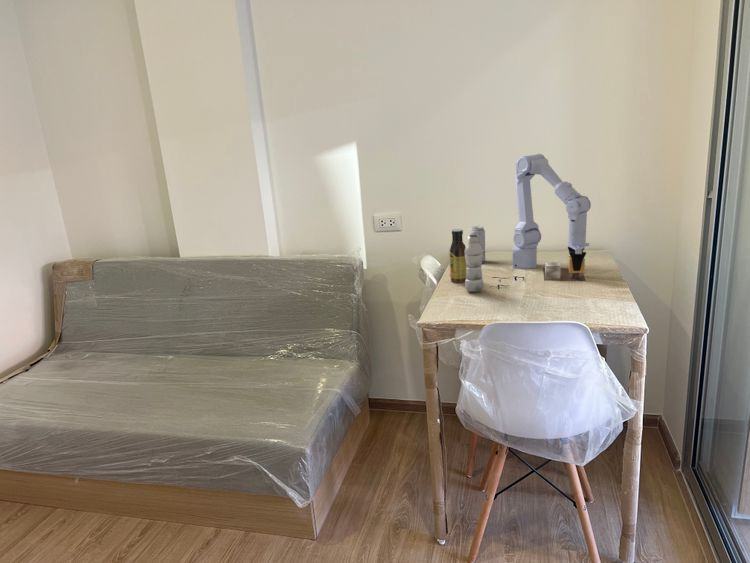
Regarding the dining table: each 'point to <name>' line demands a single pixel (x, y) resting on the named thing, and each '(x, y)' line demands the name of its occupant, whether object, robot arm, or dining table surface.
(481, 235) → the energy drink can
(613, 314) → the dining table surface
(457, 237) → the sauce bottle
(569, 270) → the kraft paper cube
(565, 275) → the board
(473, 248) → the plastic bottle
